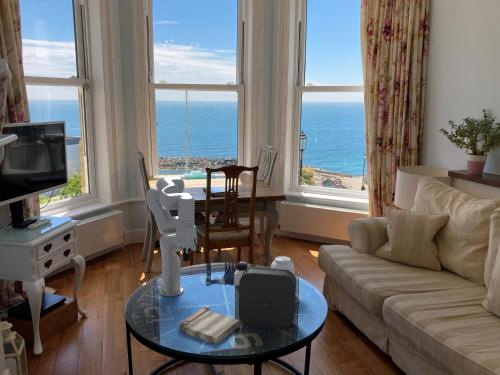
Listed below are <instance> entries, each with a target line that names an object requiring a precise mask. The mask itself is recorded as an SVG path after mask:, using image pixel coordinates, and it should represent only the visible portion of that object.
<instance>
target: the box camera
mask: <svg viewBox="0 0 500 375" xmlns="http://www.w3.org/2000/svg"><path fill="white" fill-rule="evenodd" d="M246 269H248V263H247V262H244V261H240V262H237V263H236V270H235V272H234V273H233V278H234V279H233V284H234V286H237V287H239V281H240V279H241V277H242V274H243V272H244V271H245V270H246Z"/></svg>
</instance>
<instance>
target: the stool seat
mask: <svg viewBox="0 0 500 375" xmlns="http://www.w3.org/2000/svg"><path fill="white" fill-rule="evenodd" d="M239 327H240V319H237V318H233V317H229V316H226V315H223V314H220V313H218V312H214V311H211V310H210V311H207V312H206V313H204V314H203V315H201V316H200V317H198V318H196V319H195V320H193V321H192V322H190V323H189V324H188V322H186V321H185V320H183V319H180V321H179V322H178V330H180V331H182V332H183V334H186V335H188V336H191V337H194V338H197V339H198V340H199V339H200V340H203V341H205V342H207V343H211V344H214V345H217V344H219V342H221V341H222V340H224V339H225V338H226V337H228V336H229V335H230V334H231V333H233V332H234V331H235V330H237V329H238V328H239Z"/></svg>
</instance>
